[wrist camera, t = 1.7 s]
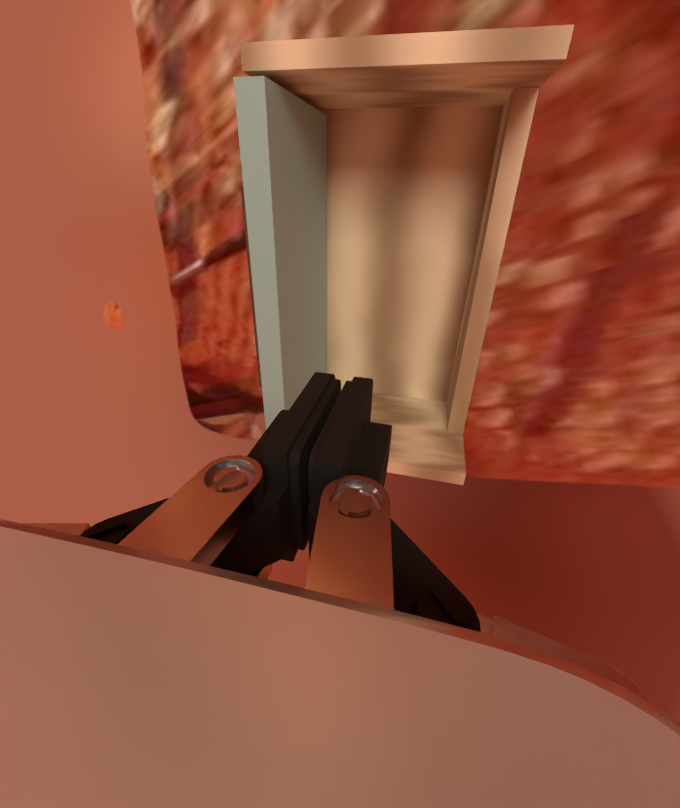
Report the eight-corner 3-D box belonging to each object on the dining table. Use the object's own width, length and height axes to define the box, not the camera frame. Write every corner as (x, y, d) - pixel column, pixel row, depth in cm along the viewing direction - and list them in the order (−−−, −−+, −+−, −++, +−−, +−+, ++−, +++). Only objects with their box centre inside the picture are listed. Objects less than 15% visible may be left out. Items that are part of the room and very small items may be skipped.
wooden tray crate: (517, 95, 26) (574, 24, 15) (457, 397, 37) (463, 485, 26) (319, 99, 28) (239, 42, 17) (320, 380, 40) (274, 453, 29)
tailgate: (326, 115, 26) (264, 75, 17) (326, 384, 36) (287, 449, 27) (297, 116, 26) (221, 77, 17) (305, 381, 37) (259, 444, 27)
